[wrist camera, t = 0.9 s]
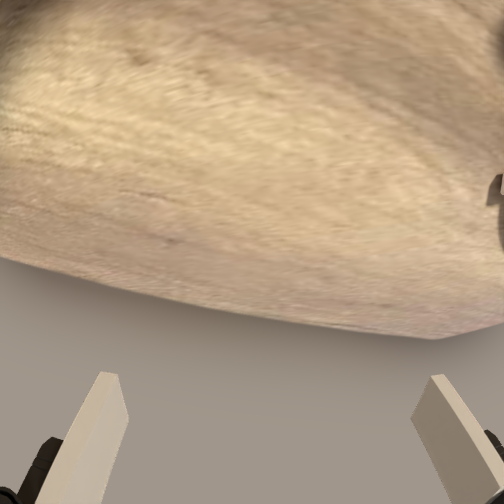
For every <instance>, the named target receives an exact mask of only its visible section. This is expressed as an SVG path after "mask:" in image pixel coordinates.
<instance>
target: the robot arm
mask: <svg viewBox="0 0 504 504" xmlns="http://www.w3.org/2000/svg"><path fill="white" fill-rule="evenodd" d="M411 420H412V422H413V424H414V426H415V428H416V430H417V432H418V434H419V436H420V438H421V440H422V442H423V444H424V446H425V448H426V450H427V452H428V454H429V456H430V458H431V460H432V462H433V464H434V466H435V469H436V471H437V473H438V475H439V477H440V479H441V481H442V483H443V486H444V488H445V490H446V492H447V494H448V496H449V499H450V501H451V503H452V504H504V448H503V446H501V445H502V444H501V443H500V441H499V440H498V438H497V437H496V436H495V435H494V434H493V433H491V432H490V431H489V430H485V431H483V430H482V428H481V427H480V425H479V424H478V422H477V421H476V419H475V418H474V416H473V415H472V413H471V412H470V410H469V409H468V408H467V406H466V405H465V403H464V402H463V400H462V399H461V398H460V397H459V395H458V393H457V392H456V391H455V389H454V388H453V386H452V385H451V384H450V382H449V381H448V380H447V378H446V377H445V376H444V374H441V375H435V376H431V377H430V378H429V381H428V383H427V385H426V388H425V390H424V392H423V394H422V396H421V398H420V400H419V402H418V404H417V406H416V408H415V410H414V413H413V414H412V416H411ZM128 421H129V417H128V413H127V410H126V406H125V402H124V399H123V395H122V391H121V387H120V383H119V378H118V374H114V373H108V372H102V371H101V372H100V373H99V375H98V377H97V379H96V380H95V382H94V384H93V386H92V388H91V389H90V391H89V393H88V395H87V397H86V399H85V401H84V402H83V404H82V406H81V408H80V410H79V412H78V414H77V416H76V418H75V420H74V422H73V424H72V425H71V427H70V430H69V431H68V433H67V436H66V438H65V439H64V440H61V439H57V438H54V437H51V438H50V439H48V440H47V441H46V442H45V443H44V444H43V445H42V446H41V448H40V450H39V452H38V454H37V457H36V458H35V459H34V461H33V463H32V466H31V467H30V469H29V471H28V473H27V475H26V477H25V479H24V481H23V483H22V485H21V487H20V490H19V492H18V494H17V495H16V494H15V493H14V492H13V491H12V490H11V489H9V488H6V487H0V504H101V501H102V498H103V495H104V492H105V488H106V485H107V482H108V479H109V476H110V473H111V470H112V467H113V464H114V461H115V458H116V455H117V452H118V449H119V446H120V444H121V441H122V438H123V435H124V432H125V429H126V426H127V424H128Z"/></svg>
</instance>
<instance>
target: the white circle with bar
mask: <svg viewBox="0 0 504 504" xmlns="http://www.w3.org/2000/svg"><path fill="white" fill-rule="evenodd" d="M500 193H501V194H502V195H504V172H503V178H502V185H501V192H500Z"/></svg>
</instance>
